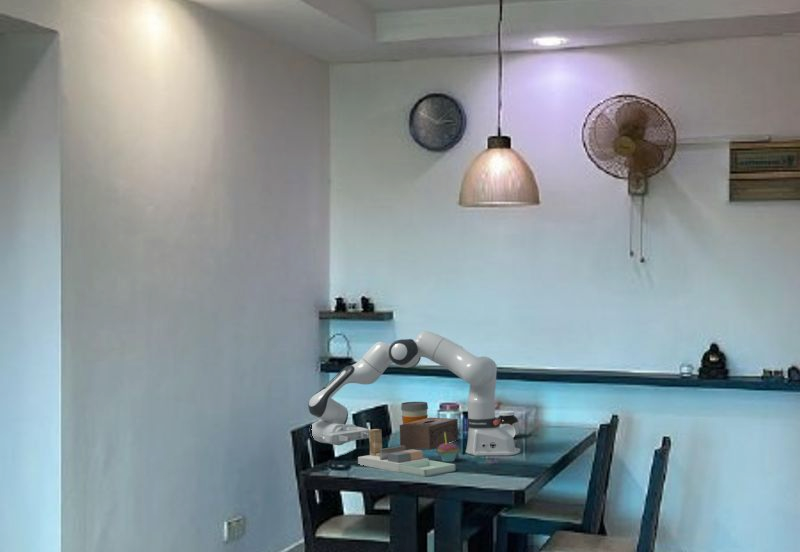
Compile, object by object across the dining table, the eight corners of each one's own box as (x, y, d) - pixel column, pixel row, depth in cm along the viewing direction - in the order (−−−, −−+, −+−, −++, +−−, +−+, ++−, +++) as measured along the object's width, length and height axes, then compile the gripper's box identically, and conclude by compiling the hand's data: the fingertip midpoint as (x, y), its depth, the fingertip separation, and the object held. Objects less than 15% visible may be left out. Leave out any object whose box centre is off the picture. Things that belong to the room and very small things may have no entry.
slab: (358, 464, 412) (358, 457, 412) (387, 459, 421) (387, 452, 422) (399, 472, 393) (398, 463, 393) (429, 466, 402) (428, 458, 402)
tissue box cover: (429, 450, 444) (428, 426, 444) (400, 448, 452) (399, 425, 452) (458, 441, 466) (457, 418, 466) (430, 439, 474) (429, 417, 474)
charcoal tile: (387, 461, 400) (387, 453, 400) (399, 459, 404) (399, 451, 404) (397, 462, 395) (397, 454, 395) (410, 460, 399) (409, 452, 399)
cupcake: (452, 463, 408) (451, 432, 408) (433, 461, 413) (432, 431, 413) (462, 459, 415) (461, 429, 416) (444, 458, 420) (443, 428, 420)
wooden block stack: (361, 456, 413) (360, 431, 413) (385, 452, 420) (384, 427, 420) (381, 460, 403) (380, 434, 403) (405, 455, 411) (404, 430, 411)
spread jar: (511, 435, 476) (510, 410, 476) (526, 438, 467) (525, 412, 467) (489, 438, 470) (489, 412, 470) (505, 441, 460) (504, 414, 460)
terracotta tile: (400, 458, 404) (400, 451, 404) (412, 456, 408) (412, 449, 408) (411, 460, 399) (410, 452, 399) (422, 458, 403) (422, 450, 403)
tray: (399, 472, 393) (398, 465, 393) (429, 466, 402) (428, 460, 402) (425, 476, 381) (425, 469, 381) (455, 471, 391) (455, 464, 391)
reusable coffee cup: (410, 433, 495) (409, 401, 495) (433, 434, 489) (432, 401, 489) (396, 436, 484) (395, 404, 484) (420, 437, 478) (419, 405, 478)
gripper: (316, 429, 428) (337, 432, 417) (356, 424, 441) (377, 427, 430) (317, 444, 428) (337, 448, 417) (357, 439, 441) (377, 442, 430)
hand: (358, 437), depth 424 cm, fingers open, 8 cm apart
